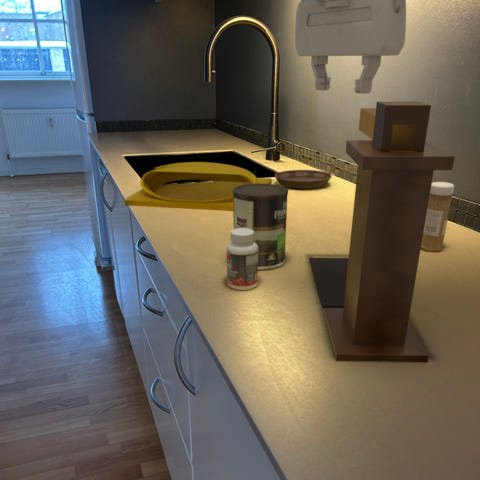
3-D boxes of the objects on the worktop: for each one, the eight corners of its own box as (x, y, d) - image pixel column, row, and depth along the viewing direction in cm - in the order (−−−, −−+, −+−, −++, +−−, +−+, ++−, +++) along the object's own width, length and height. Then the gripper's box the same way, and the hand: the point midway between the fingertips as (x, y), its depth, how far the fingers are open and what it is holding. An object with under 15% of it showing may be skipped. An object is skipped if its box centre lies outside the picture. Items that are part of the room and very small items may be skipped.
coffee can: (291, 255, 103) (294, 185, 97) (276, 273, 95) (279, 197, 88) (243, 249, 107) (243, 181, 100) (225, 266, 98) (224, 192, 92)
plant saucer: (262, 184, 161) (262, 174, 160) (299, 176, 172) (300, 166, 170) (305, 193, 149) (306, 183, 148) (342, 184, 160) (343, 174, 159)
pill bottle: (220, 285, 90) (219, 231, 85) (241, 276, 94) (241, 224, 89) (243, 293, 87) (244, 238, 82) (263, 284, 90) (265, 230, 86)
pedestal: (400, 314, 80) (428, 139, 68) (427, 362, 67) (467, 158, 55) (323, 313, 80) (337, 139, 68) (336, 360, 68) (356, 157, 56)
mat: (370, 259, 101) (370, 258, 101) (397, 308, 81) (398, 306, 81) (309, 259, 101) (309, 257, 101) (322, 307, 82) (322, 305, 82)
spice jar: (447, 250, 106) (459, 184, 100) (430, 253, 104) (442, 187, 98) (431, 243, 110) (442, 180, 103) (414, 246, 108) (425, 182, 102)
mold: (167, 178, 169) (165, 149, 165) (271, 182, 163) (272, 152, 159) (125, 204, 139) (121, 169, 135) (251, 211, 132) (251, 175, 128)
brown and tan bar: (385, 129, 77) (389, 93, 74) (424, 151, 59) (431, 105, 57) (351, 129, 77) (355, 93, 75) (380, 151, 59) (386, 105, 57)
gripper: (425, -31, 61) (409, 94, 68) (324, -12, 78) (318, 87, 84) (385, -34, 59) (372, 96, 65) (289, -14, 75) (286, 89, 81)
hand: (341, 91), depth 75 cm, fingers open, 8 cm apart
